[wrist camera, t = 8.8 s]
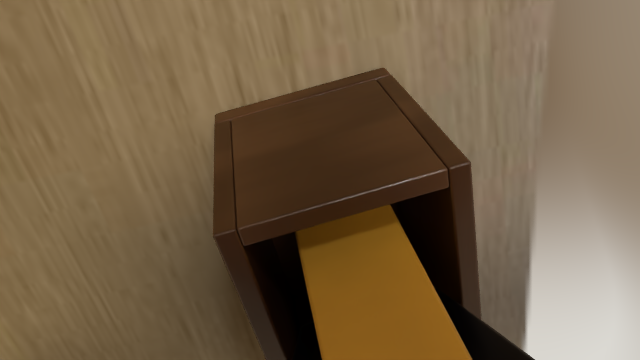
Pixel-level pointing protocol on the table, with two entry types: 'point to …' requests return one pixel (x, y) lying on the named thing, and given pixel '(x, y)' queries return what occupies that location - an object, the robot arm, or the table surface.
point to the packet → (373, 292)
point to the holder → (335, 192)
